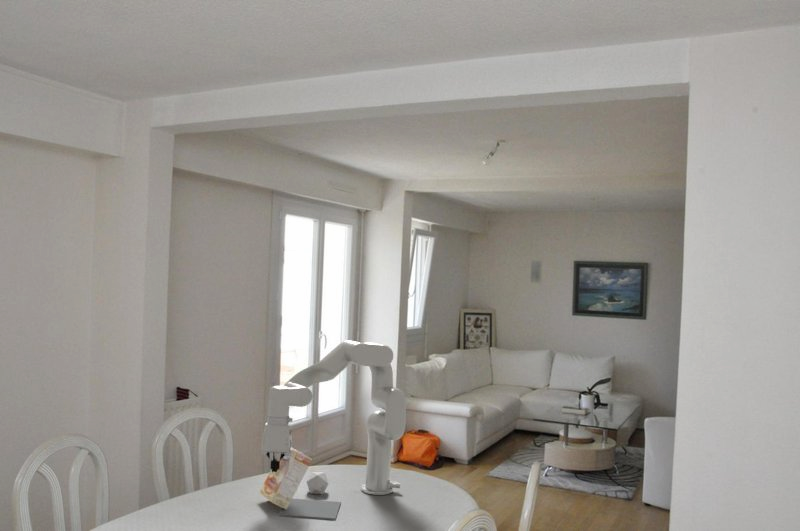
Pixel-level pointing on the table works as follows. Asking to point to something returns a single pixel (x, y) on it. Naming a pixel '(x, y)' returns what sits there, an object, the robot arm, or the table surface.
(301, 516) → the mat
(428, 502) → the table surface
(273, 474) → the coffeecake box
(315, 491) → the die
